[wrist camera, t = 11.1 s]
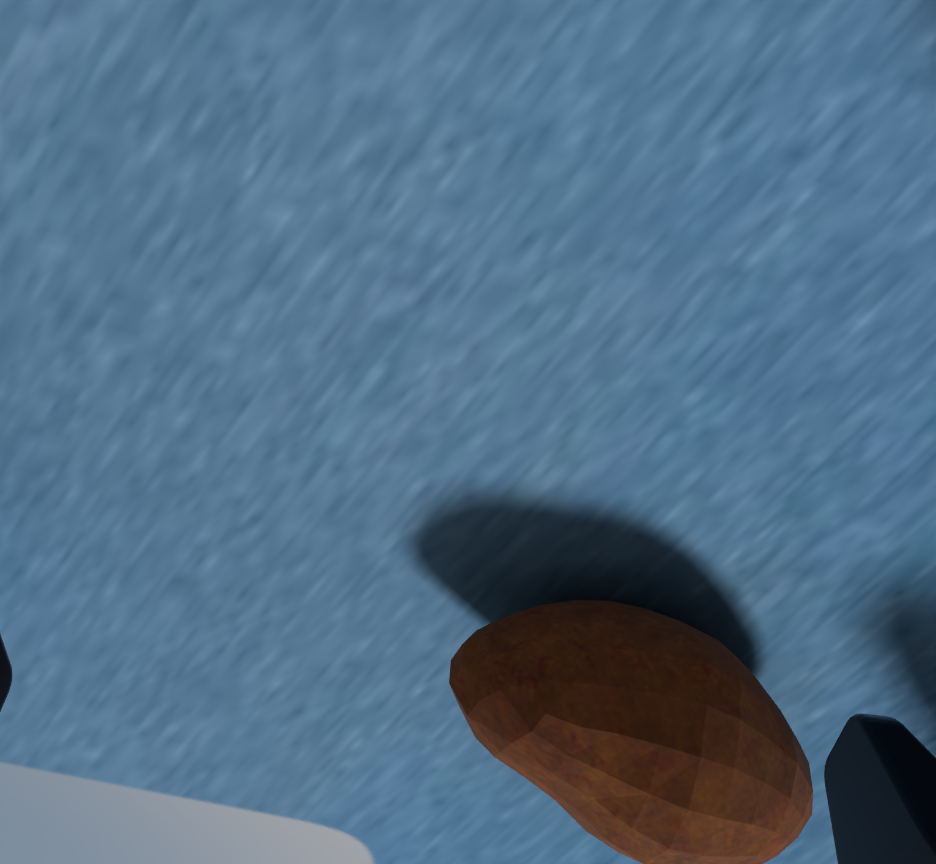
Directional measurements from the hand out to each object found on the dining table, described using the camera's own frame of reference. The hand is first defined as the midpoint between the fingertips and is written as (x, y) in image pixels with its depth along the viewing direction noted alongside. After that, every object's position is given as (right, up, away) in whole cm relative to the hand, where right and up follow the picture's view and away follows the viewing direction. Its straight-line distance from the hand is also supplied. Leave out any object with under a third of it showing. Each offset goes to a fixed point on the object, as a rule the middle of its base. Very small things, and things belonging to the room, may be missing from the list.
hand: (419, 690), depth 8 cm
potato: (+6, -4, +17) cm, 18 cm away
